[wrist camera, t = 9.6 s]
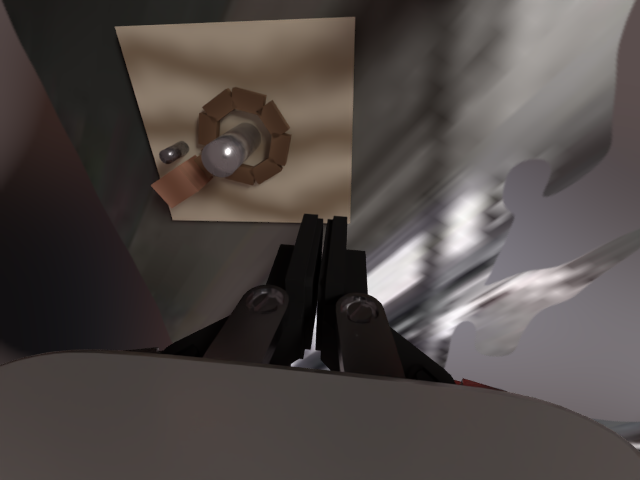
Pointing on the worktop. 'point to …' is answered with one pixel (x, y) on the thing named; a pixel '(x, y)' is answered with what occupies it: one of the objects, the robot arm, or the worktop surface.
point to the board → (262, 77)
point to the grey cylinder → (221, 150)
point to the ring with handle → (192, 171)
